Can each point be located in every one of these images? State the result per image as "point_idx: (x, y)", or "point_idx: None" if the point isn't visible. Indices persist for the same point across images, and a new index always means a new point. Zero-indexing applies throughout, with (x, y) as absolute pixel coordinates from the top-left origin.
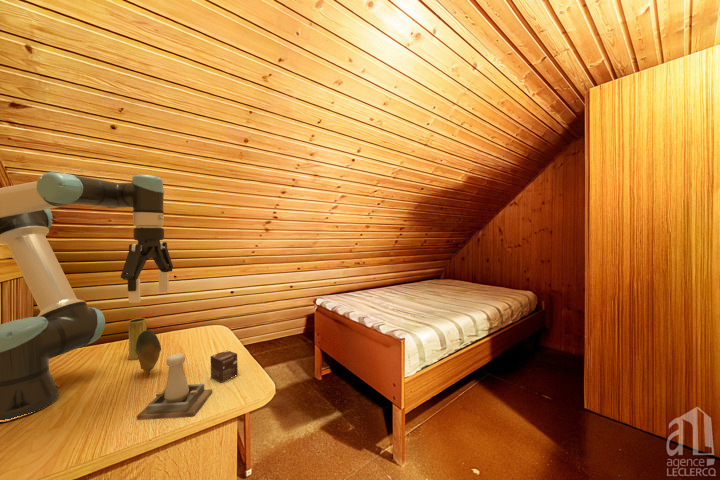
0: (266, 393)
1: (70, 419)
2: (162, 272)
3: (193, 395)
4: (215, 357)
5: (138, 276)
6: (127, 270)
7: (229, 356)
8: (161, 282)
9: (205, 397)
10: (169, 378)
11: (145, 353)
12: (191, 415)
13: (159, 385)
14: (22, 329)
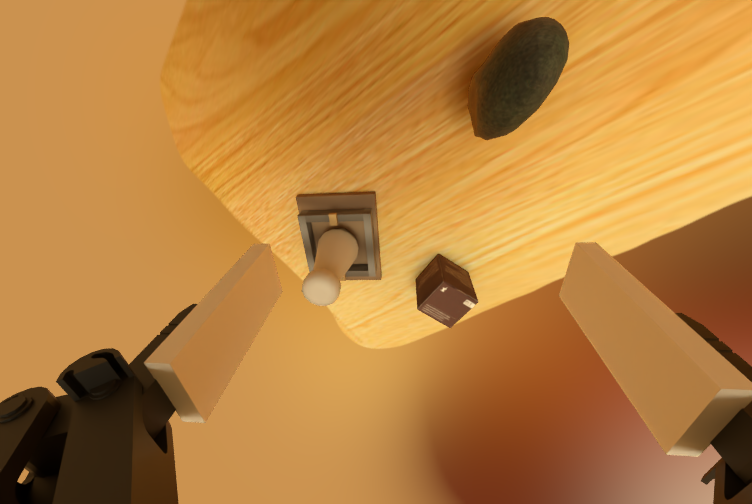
0: (376, 347)
1: (282, 46)
2: (692, 420)
3: None
4: (434, 294)
5: (171, 448)
6: None
7: (436, 318)
8: (615, 313)
9: (354, 279)
10: (315, 261)
11: (473, 97)
12: None
13: (417, 157)
14: None
